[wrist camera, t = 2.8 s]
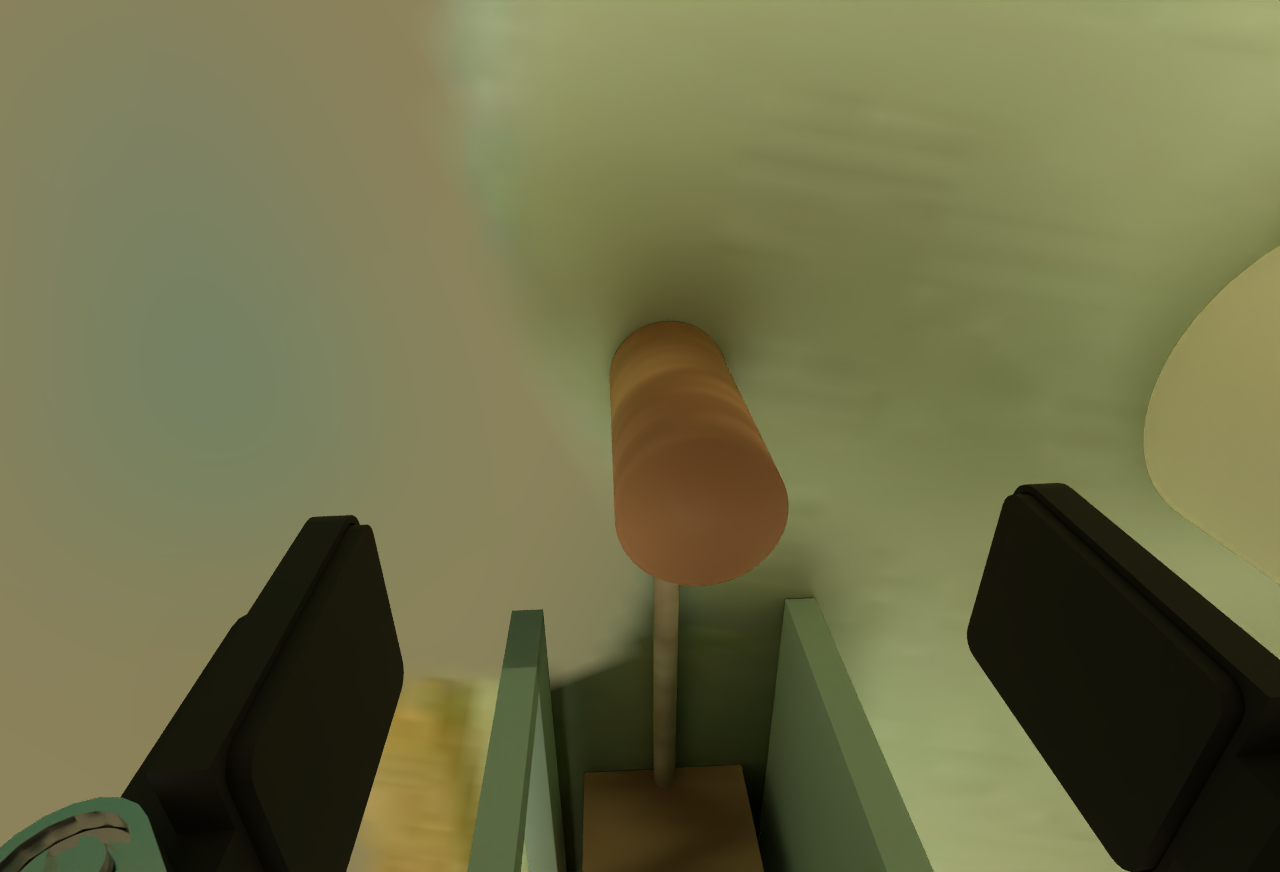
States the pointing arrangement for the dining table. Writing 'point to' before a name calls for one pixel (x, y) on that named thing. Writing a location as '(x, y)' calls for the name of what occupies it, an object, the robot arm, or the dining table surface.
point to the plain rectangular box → (795, 775)
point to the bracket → (1225, 419)
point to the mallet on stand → (681, 555)
